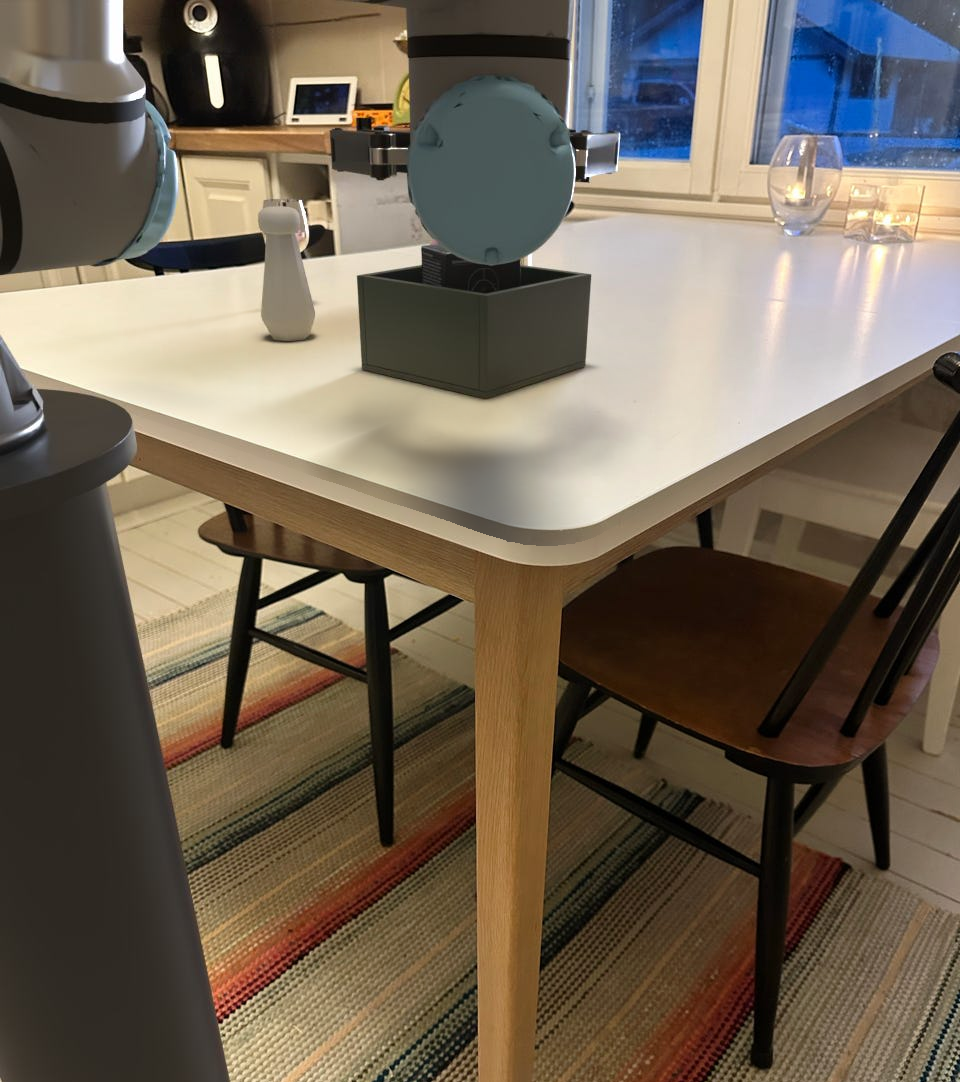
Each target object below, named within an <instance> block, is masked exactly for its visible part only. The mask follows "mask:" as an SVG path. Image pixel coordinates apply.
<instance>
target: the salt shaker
mask: <svg viewBox="0 0 960 1082" xmlns="http://www.w3.org/2000/svg"><path fill="white" fill-rule="evenodd" d="M262 208H263V207H262ZM262 208H261V209H260V210H259V212H258V216H257V223H258V228H259V231H260V232H261V233H262V232H265V233H266V244H265V248H264V250H265V251H264V266H263V267H264V268H263V281H262V293H261V295H262V296H261V297H262V298H261V306H260V307H261V309H260V318H261V321H262V323H263V324H264V326H265V327H266V329H267V331H268V332H269V334H270V336H271V338H272V339H273V340H274V341H280V342H281V341H282V342H293V341H294V342H295V341H302V340H303V341H304V340H306V339H307V338H308V337H310V335H311V331H312V327H313V324H314V322H315V320H316V319H315V318H316V310H315V306H314V302H313V297H312V294H311V289H310V285H309V282H308V277H307V275H306V269H305V266H304V262H303V259H302V252H300V249H299V245H298V241H297V237H296V233H295V232H297V231H299V230H300V227H301V223H300V216H299V212H298V211H297V210H296V209H294V208H291V207H283V206H274V207H266V208H263V209H262Z"/></svg>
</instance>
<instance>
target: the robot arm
mask: <svg viewBox="0 0 960 1082" xmlns="http://www.w3.org/2000/svg"><path fill="white" fill-rule="evenodd" d="M337 1H340V2H350V3H351V2H352V3H362V4H363V3H364V4H370V5H378V6H386V7H394V8H402V9H405V15H406V16H405V18H406V19H405V20H406V45H407V47H406V48H407V50H406V51H407V53H406V54H407V59H408V97H409V98H408V99H409V102H408V104H409V131H402V130H401V131H400V130H390V125H376V126H373V125H372V124H373V123H372V122H373V121H372V117H355V127H356V128H355V130H351V129H350V130H349V129H348V130H347V129H344V128H343V127H334V128H331V129H329V142H330V143H329V144H330V158H331V169H332V170H334V171H336V172H339V173H341V172H344V173H345V172H346V173H353V174H358V175H363V176H369V177H370V178H372V179H376V181H385V180H387V179H391V178H393V177H395V178H396V177H397V176H398V173H399V174H400V173H401V174H406V182H407V183H406V184H407V192H408V193H407V195H408V200H409V202H410V203H411V204H412V206H413V207H414V208H415V209H414V213H415V215H416V216H417V217H418V219H419V220H420V223H421V226H422V228H423V229H424V230H425V232H426V233H427V234H428V235H429V236H430V238H431V239H432V238H433V239H435V240H436V241H437V242H438V243H439V244H440V245H441V246H442V247H443V248H444V249H445V250H447V251H448V252H450V253H452V254H454V255H455V256H457V257H459V258H462V259H464V260H466V261H469V262H473V263H478V264H485V265H490V266H493V265H498V264H505V263H510V262H513V261H517V260H519V259H522V258H524V257H526V256H528V255H529V254H531V253H532V254H533V253H535V252H536V251H537V250H539V249H540V248H541V247H542V246H544V245H545V244H546V243H547V242H548V241H549V240H550V239H551V237H553V236H554V234H555V233H556V232H557V230H558V229H559V228H560V226H561V224H562V223H563V221H564V219H565V218H566V215H567V213H568V211H569V208H570V205H571V202H572V200H573V199H572V198H573V195H574V189H575V183H587V184H589V183H591V177H594V176H600V175H612V174H614V173H617V172H618V166H619V165H618V163H619V152H620V139H621V133H620V132H618V131H616V130H612V129H610V130H608V129H607V131H606V132H593V131H589V129H581V130H580V131H579V132H578V131H577V130H576V129H574V128H569V121H570V101H571V83H572V63H573V62H572V60H571V57H572V40H573V28H574V13H575V12H574V10H575V0H337ZM146 88H147V87H146V82H145V80H144V78H143V77H142V76H141V75H140V73H139V72H138V71H137V69H136V68H135V67H134V65H133V64H132V62H130V61H129V59H128V58H127V56H126V54H125V52H124V0H0V276H5V275H14V274H23V273H24V274H25V273H33V272H41V271H52V270H59V269H68V268H76V267H77V268H78V267H85V266H91V267H95V268H96V267H104V266H108V265H111V264H114V263H116V262H117V261H121V260H128V259H134V258H138V257H141V256H143V255H146V254H147V253H148V252H150V250H152V249H154V248H156V246H158V244H159V243H160V242H161V241H162V240H163V238H164V237H165V236H166V234H167V232H168V231H169V228H170V226H171V224H172V221H173V218H174V215H175V211H176V207H177V201H178V195H179V194H178V193H179V169H178V168H179V167H178V160H177V155H176V152H175V151H174V150H173V149H170V142H171V140H172V135H171V134H170V131H169V129H168V126H167V124H166V122H165V120H164V118H163V117H162V115H161V114H160V112H159V111H158V110H157V109H156V107H155V106H154V104H152V103H151V102H150V101H148V100H147V99H146V98H147V97H146V95H147V94H146V92H147V91H146ZM32 384H33V385H31V383H30V382H29V380H28V378H27V377H26V374H25V373H24V371H23V370H22V368H21V367H20V365H19V363H18V361H17V359H16V358H15V357H14V355H13V353H12V351H11V350H10V349H9V346H8V345H7V343H6V341H5V340H4V338H3V336H2V335H1V334H0V456H1V455H5V454H7V453H10V452H13V451H15V450H18V449H20V448H22V447H24V446H26V445H28V444H30V443H32V442H34V441H35V440H36V439H38V438H39V437H40V436H41V435H42V434H43V433H44V432H45V430H46V423H45V419H44V415H43V400H42V398H41V396H40V395H39V393H38V391H37V389H38V388H36V386H35V384H34V383H32Z"/></svg>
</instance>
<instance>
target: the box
mask: <svg viewBox="0 0 960 1082" xmlns="http://www.w3.org/2000/svg"><path fill="white" fill-rule="evenodd" d="M420 251H421V265H422V284H427V285H433V286H440V287H446V288H453V289H459V290H465V291H472V292H478V293H485V294H487V293H492V292H497V291H501V290H506V289H511V288H516V287H520V259H519V260H517V261H513V262H510V263H505V264H498V265H493V266H490V265H485V264H478V263H473V262H469V261H466V260H464V259H462V258H459V257H457V256H455V255H454V254H452V253H450V252H448V251H447V250H445V249H444V248H443V247H442V246H441V245H440V244H437V245H430V244H427V245H421V246H420Z"/></svg>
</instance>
